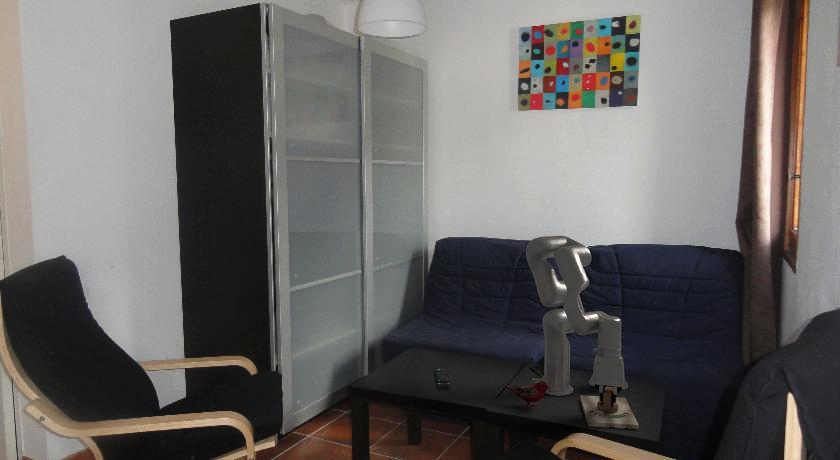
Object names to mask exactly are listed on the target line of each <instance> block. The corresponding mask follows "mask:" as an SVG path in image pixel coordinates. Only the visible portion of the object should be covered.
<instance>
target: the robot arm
mask: <svg viewBox="0 0 840 460" xmlns="http://www.w3.org/2000/svg"><path fill="white" fill-rule="evenodd" d="M525 256H526V257H525V258H526V261H527V264H528V266H529V268H530V271H531V273H532V276H533V279H534V282H535V286H536V290H537V293H538V294H537V295H538V298H539V300H540V303H541V304H542V305H543V306H544V307H546V308H551V307H561V306H562V308H557V309H551V310H550V311H547V312H545V314H544V315H543V317H542V328H543V335H544V363H543V365H544V376H543V378H542V377H540V378H536V377H534V378H533V377H532V379H531V383H532V384H536V383H538V382H541V381H544V382H546V383H547V386H548V387H549V388H550V389H547V391H546V392H545V394H546V395H550V396H557V397H563V396H569V395H571V394H573V393H574V387H573V386H571V384H570V370H571V369H570V368H571V364H570V363H571V345H570V344H571V343H570V341H569V340H568V337H567V334H571V333H575V334H577V335H579V336H587V335H590V334H591V335H592V334H597V336H598V337H597V347H593V352H596V353H595V357H594V360H593V371H592V376H591V378H590V380H588V384H589V385H591V386H593V387H594V388H595V389H596V390H597V391H598V393H599V396H600V401H602V404H603V393H604V390H605V389H604V388H603V385H604V386H613V392H612V406H614V403H616V397H617V394H619V393H620V392H621V391H622V390H623V391H624V390H626V389H628V388H629V385H628V383H627V381H626V378H625V365H624V364H625V363H624V358H623V356H622V319H621V318H619V317H618V316H615V315H610V314H607V313H605V311H601V310H596V311H588V312H587V311H585V308H584V307H583V303H582V299H581V295H580V294H581V292H582V291H584V290H585V289H587V288H588V286H589V284H590V279H589V278H588V276H587V274H586V270H585V269H584V267H588V266H589V265H590V264H591V263H592V254H591V252H590V249H589V248H588V247H587V246H586V245H584V244H583V243H581V242H578V241H576V240H575V239H573V238H570V237H568V236H565V235H550V236H549V235H548V236H544V235H543V236H537V237H535V238H532V239H531V240H530V241H529V242H528V244H527V246H526V250H525ZM552 258H553V259H554V261H555V263H556V266H557V268H558V271H559V274H560V276H561V279H562V280H559V279H558V276H557V274H556V271H555V268H554V267H553V266H552V264H551V263H550V262H549V261H548V260H547V259H552Z"/></svg>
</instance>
